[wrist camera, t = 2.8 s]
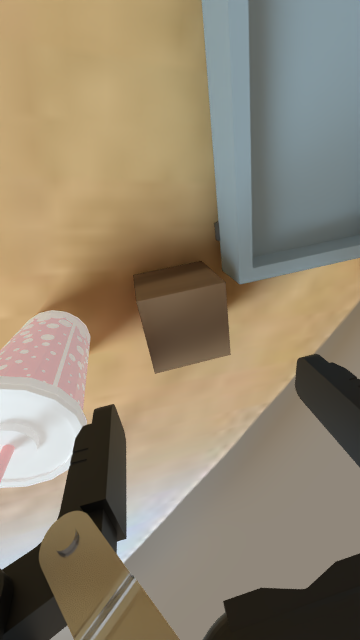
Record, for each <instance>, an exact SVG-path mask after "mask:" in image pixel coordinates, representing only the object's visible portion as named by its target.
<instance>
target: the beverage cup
mask: <svg viewBox="0 0 360 640" xmlns="http://www.w3.org/2000/svg"><path fill="white" fill-rule="evenodd" d="M89 346H90V334H89V331H88V329H87V326H86V325H85V324H84V323H83V322H82V321H81V320H80V319H79V318H78V317H76V316H74V315H72V314H70V313H67V312H63V311H55V310H51V311H46V312H41V313H38V314H37V315H36V316H34V317H33V318H31V319H30V320H29V321H28V322H27V323H26V324H25V325H24V326H23V327H22V328H21V329H20V330H19V331H18V332H17V333H16V334H15V335H14V336H13V337H12V339H11V340H10V341H9V342H8V343H7V344H6V345H5V346H4V347H3V348H2V349H1V350H0V488H6V487H25V486H30V485H34V484H37V483H41V482H44V481H48V480H51V479H53V478H55V477H57V476H58V475H60V474H61V473H63V472H65V471H66V470H68V469H69V466H70V461H71V456H72V455H73V452H72V451H73V447H74V442H75V438H76V436H77V435H78V433H79V432H80V430H81V428H82V427H83V426H84V425H86V424H87V419H86V417H85V415H84V413H83V403H84V394H85V384H86V375H87V365H88V356H89Z"/></svg>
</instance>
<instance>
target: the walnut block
mask: <svg viewBox="0 0 360 640" xmlns="http://www.w3.org/2000/svg"><path fill="white" fill-rule="evenodd" d="M133 278H134V286H135V294H136V302H137V306H138V310H139V314H140V317H141V321H142V325H143V329H144V333H145V337H146V341H147V345H148V348H149V352H150V356H151V360H152V364H153V368H154V372H155V374H156V373H160V372H164V371H168V370H171V369H175V368H179V367H183V366H187V365H191V364H195V363H199V362H203V361H207V360H211V359H215V358H219V357H223V356H227V355H231V354H230V340H229V326H228V311H227V297H226V282H225V281H224V280H222V279H221V278H220V277H219V276H218V275H217V274H216V273H214V272H213V271H212V270H211V269H210V268H209V267H208V266H207V265H205V264H204V263H203V262H202V261H199V262H194V263H189V264H184V265H180V266H175V267H170V268H165V269H161V270H156V271H151V272H146V273H141V274H137V275H133Z"/></svg>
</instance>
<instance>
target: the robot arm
mask: <svg viewBox="0 0 360 640" xmlns="http://www.w3.org/2000/svg"><path fill="white" fill-rule="evenodd" d="M295 388H296V391H297V394H298V396H299V397H300V399H301V400H302V401H303V402H304V403H305V405H306V406H307V407H308V408H309V409H310V410H311V411H312V413H313V414H314V415H315V416H316V417H317V418H318V420H319V421H320V422H321V423H322V424H323V425H324V427H325V428H326V429H327V430H328V431H329V432H330V434H331V435H332V436H333V437H334V438H335V439H336V440H337V442H338V443H339V444H340V445H341V446H342V447H343V448H344V450H345V451H346V452H347V453H348V454H349V455H350V457H351V458H352V459H353V460H354V461H355V462H356V464H357V465H358V466H359V467H360V379H357V377H356V376H355V375H353V374H352V373H351V372H350V371H348V370H347V369H345V368H344V367H341V366H339V365H337V364H335V363H328V362H327V361H326V360H325V359H324V358H322V357H321V356H320V355H318V354H313V355H309V356H305V357H301V358H299V359H298V360H297V368H296V380H295ZM72 452H73V455H72V456H71V461H70V466H69V471H68V475H67V480H66V485H65V490H64V495H63V500H62V504H61V509H60V513H59V516H58V519H57V521H56V522H55V523H54V524H53V525H52V526H51V527H50V529H49V530H48V531H47V533H46V535H45V537H44V539H43V541H42V542H41V543H40V544H39V545H38V546H37V547H35V548H34V549H33V550H31V551H30V552H28V553H27V554H25V555H24V556H22V557H21V558H19V559H18V560H16V561H15V562H13V563H12V564H10V565H9V566H7V567H6V568H4V569H2V570H1V569H0V640H50V639H51V638H52V637H53V636H55V635H56V634H57V633H58V632H59V631H61V630H62V629H63V628H64V627H66V626H67V625H68V627H69V629H70V632H71V634H72V636H73V638H74V640H180V639H179V638H178V636H177V635H176V634H175V632H174V631H173V630H172V628H171V627H170V626H169V624H168V623H167V621H166V620H165V619H164V617H163V616H162V614H161V613H160V612H159V610H158V609H157V607H156V606H155V605H154V603H153V602H152V601H151V599H150V598H149V596H148V595H147V594H146V592H145V591H144V589H143V588H142V587H141V585H140V584H139V583H138V581H137V580H136V579H135V578H134V576H133V575H131V573H130V572H129V571H128V569H127V568H126V567H125V566H124V564H123V562H122V561H121V560H120V558H119V557H118V556H117V541H120V540H123V539H126V438H125V433H124V429H123V426H122V424H121V421H120V418H119V415H118V413H117V410H116V407H115V405H114V404H112V405H108V406H104V407H100V408H96V409H95V410H94V413H93V419H92V424H88V425H84V426H83V427H82V428H81V430H80V432H79V433H78V435H77V436H76V438H75V442H74V447H73V451H72ZM223 602H224V608H225V613H224V614H223V615H222V616H221V617H220V618H218V619H217V620H216V622H215V623H214V624H213V625H212V626H211V628H210V629H209V631H208V632H207V634H206V636H205V637H204V639H203V640H360V554H357V555H354V556H351V557H349V558H345V559H343V560H340V561H337V562H335V563H334V564H333V565H332V566H331V567H330V568H329V569H327V571H326V572H324V573H323V574H322V575H321V576H320V577H319V578H318V579H317V580H316V581H314V583H312V584H311V585H310V586H309V587H308V588H306V589H276V588H274V589H273V588H260V589H257V590H254V591H251V592H248V593H245V594H242V595H240V596H237V597H234V598H231V599H228V600H225V601H223Z"/></svg>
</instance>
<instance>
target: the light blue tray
mask: <svg viewBox="0 0 360 640" xmlns="http://www.w3.org/2000/svg"><path fill="white" fill-rule="evenodd" d="M202 10H203V23H204V36H205V50H206V63H207V76H208V89H209V102H210V115H211V129H212V142H213V155H214V168H215V181H216V194H217V208H218V222H215V223H214V225H215V237H216V240H218V241H220V247H221V260H222V271H224V272H225V273H226V274H227V275H229V276H230V277H231V278H232V279H234V280H235V281H236V282H237V283H239V284H244V283H249V282H253V281H258V280H262V279H267V278H271V277H276V276H280V275H285V274H289V273H293V272H298V271H302V270H307V269H311V268H316V267H320V266H325V265H329V264H334V263H338V262H343V261H347V260H352V259H356V258H360V0H202Z"/></svg>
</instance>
